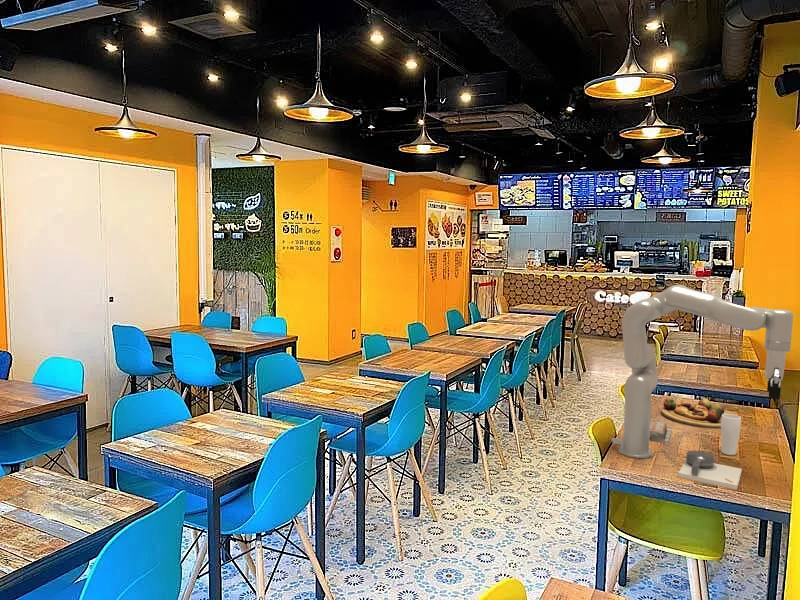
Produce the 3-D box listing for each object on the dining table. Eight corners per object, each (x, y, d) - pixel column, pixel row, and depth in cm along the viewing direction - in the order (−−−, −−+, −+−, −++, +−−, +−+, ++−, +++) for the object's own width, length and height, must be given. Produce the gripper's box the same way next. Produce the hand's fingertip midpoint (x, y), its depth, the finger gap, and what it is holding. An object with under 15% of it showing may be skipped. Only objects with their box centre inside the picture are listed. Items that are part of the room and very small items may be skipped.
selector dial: (688, 457, 225) (688, 448, 224) (715, 463, 220) (715, 454, 219) (680, 472, 210) (680, 462, 210) (708, 478, 205) (709, 468, 205)
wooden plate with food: (648, 416, 284) (649, 399, 283) (677, 404, 305) (679, 388, 304) (720, 435, 261) (722, 417, 260) (746, 420, 282) (748, 403, 281)
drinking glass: (720, 449, 240) (723, 412, 239) (740, 453, 236) (743, 415, 234) (716, 453, 235) (719, 416, 233) (736, 457, 231) (739, 419, 229)
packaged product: (669, 433, 245) (643, 429, 249) (668, 445, 245) (642, 440, 250) (672, 421, 261) (647, 418, 265) (671, 432, 261) (646, 429, 266)
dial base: (676, 476, 211) (677, 471, 211) (685, 461, 226) (685, 456, 226) (736, 489, 201) (737, 484, 201) (741, 472, 216) (742, 467, 216)
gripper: (763, 341, 214) (759, 388, 216) (765, 348, 199) (761, 399, 200) (788, 343, 210) (784, 391, 212) (792, 351, 195) (788, 402, 197)
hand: (773, 395), depth 206 cm, fingers open, 9 cm apart
